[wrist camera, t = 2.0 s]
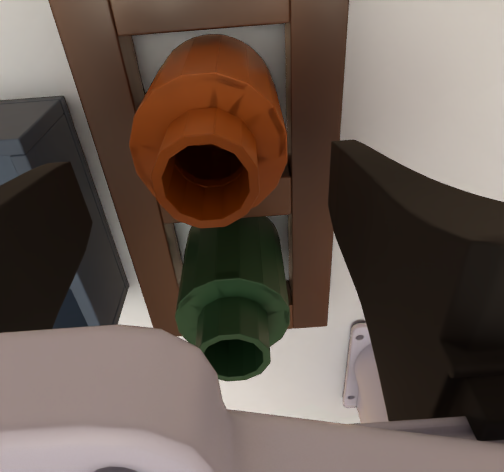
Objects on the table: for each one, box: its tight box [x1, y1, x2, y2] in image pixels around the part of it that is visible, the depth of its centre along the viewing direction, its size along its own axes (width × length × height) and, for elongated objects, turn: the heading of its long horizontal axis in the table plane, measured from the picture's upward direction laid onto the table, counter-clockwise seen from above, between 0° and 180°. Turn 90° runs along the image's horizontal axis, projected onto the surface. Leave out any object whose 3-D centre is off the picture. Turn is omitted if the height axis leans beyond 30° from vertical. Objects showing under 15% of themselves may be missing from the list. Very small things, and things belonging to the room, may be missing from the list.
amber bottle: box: [129, 34, 287, 228], centre depth 14 cm, size 5×5×8 cm
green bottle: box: [175, 216, 290, 381], centre depth 19 cm, size 5×5×8 cm
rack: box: [48, 0, 349, 336], centre depth 19 cm, size 10×18×2 cm, turn 4°
